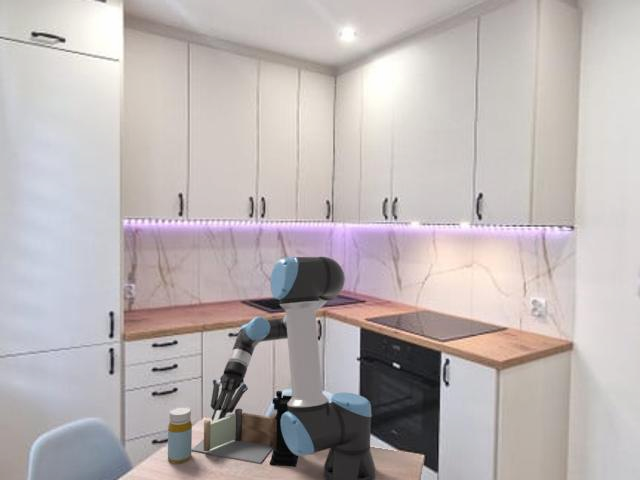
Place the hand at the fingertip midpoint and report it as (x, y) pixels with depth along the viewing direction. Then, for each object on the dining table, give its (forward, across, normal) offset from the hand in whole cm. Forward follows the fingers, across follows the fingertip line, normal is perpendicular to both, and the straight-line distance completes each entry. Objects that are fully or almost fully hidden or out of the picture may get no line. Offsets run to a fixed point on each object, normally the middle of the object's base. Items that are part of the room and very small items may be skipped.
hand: (213, 431), depth 144 cm
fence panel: (+3, -2, -3) cm, 5 cm away
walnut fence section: (-2, -12, -9) cm, 15 cm away
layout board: (+1, -6, -7) cm, 9 cm away
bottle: (+10, +6, +2) cm, 12 cm away
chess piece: (+3, -24, -5) cm, 25 cm away
